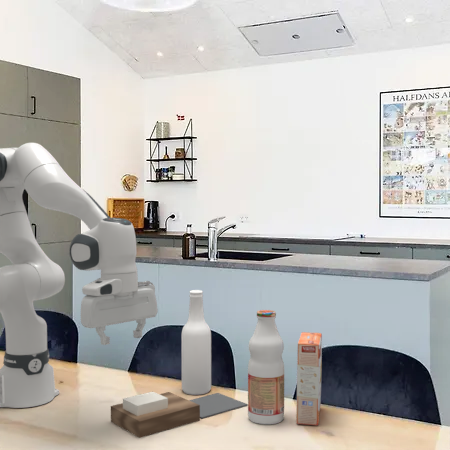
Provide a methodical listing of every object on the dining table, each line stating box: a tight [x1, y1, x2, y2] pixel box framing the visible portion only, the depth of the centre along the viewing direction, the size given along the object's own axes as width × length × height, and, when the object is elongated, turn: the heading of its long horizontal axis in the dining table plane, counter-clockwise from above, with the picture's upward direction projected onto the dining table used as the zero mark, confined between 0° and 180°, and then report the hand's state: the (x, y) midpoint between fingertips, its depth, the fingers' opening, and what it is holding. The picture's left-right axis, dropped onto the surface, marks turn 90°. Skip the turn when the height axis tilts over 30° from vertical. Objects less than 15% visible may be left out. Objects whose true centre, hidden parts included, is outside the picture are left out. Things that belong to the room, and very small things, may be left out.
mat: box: [188, 392, 248, 420], centre depth 164 cm, size 13×16×1 cm
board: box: [110, 391, 201, 439], centre depth 153 cm, size 14×18×4 cm
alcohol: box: [181, 289, 212, 396], centre depth 177 cm, size 9×9×30 cm
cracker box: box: [295, 331, 323, 427], centre depth 156 cm, size 14×6×21 cm, turn 168°
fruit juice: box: [247, 309, 285, 425], centre depth 154 cm, size 9×9×28 cm
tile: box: [122, 391, 168, 416], centre depth 151 cm, size 7×9×2 cm
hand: (121, 340), depth 145 cm, fingers open, 8 cm apart
